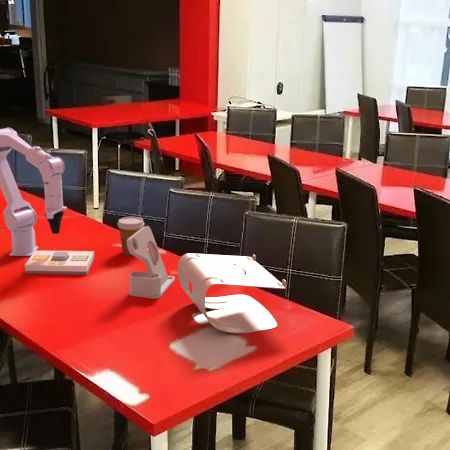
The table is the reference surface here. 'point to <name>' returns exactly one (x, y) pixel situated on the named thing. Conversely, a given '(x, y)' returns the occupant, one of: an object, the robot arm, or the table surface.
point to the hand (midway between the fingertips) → (55, 233)
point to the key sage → (80, 258)
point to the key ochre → (41, 257)
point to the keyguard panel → (59, 263)
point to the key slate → (60, 256)
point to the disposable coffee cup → (128, 230)
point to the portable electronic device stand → (229, 305)
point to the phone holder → (147, 266)
